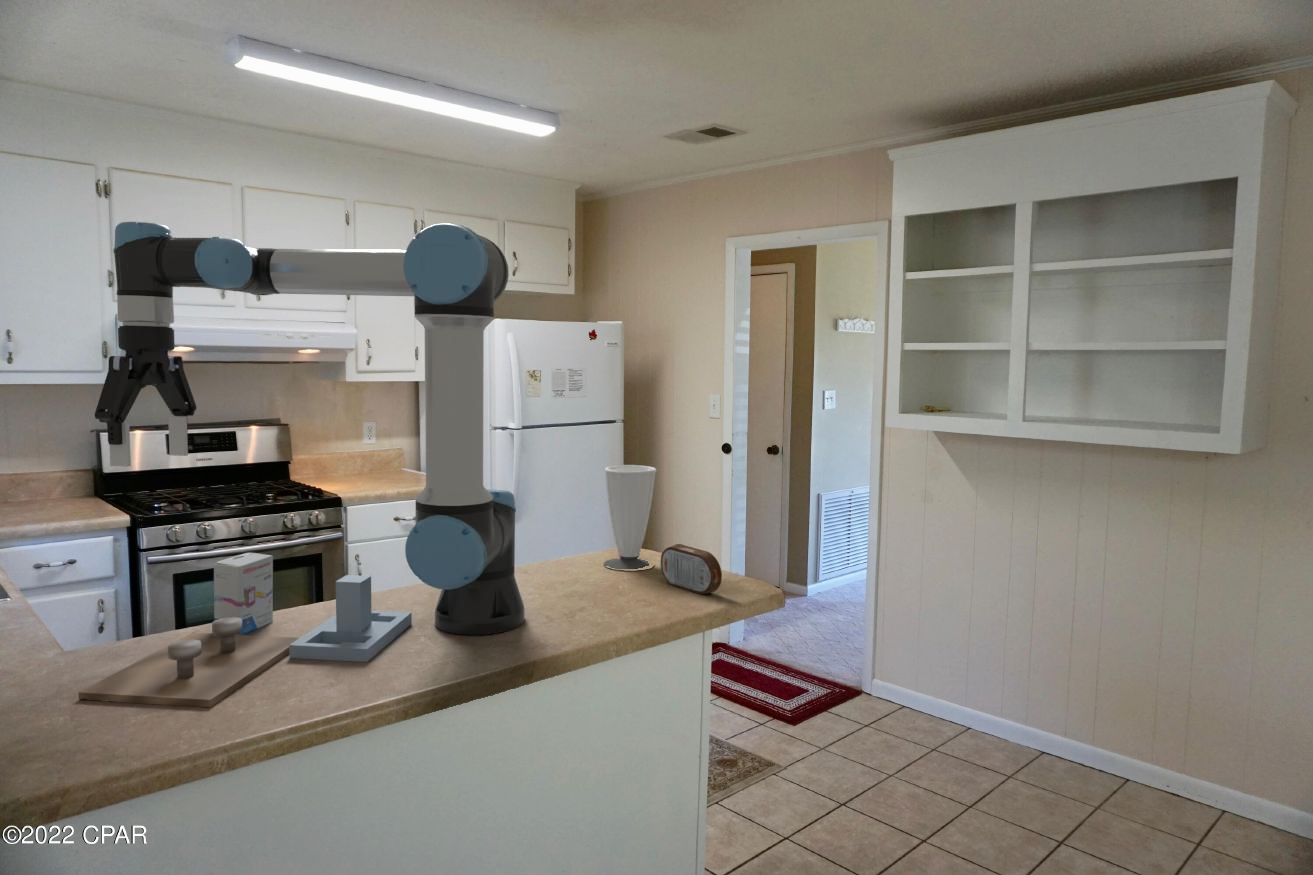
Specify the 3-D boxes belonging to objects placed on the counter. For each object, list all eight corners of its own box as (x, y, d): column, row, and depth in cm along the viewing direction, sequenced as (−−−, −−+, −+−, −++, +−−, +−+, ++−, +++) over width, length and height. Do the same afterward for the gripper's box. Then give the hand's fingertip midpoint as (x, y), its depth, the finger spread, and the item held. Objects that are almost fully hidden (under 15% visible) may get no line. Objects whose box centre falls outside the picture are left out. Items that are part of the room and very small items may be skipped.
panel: (411, 623, 144) (411, 566, 143) (367, 661, 126) (366, 596, 125) (343, 620, 144) (342, 563, 143) (289, 657, 127) (288, 592, 126)
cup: (661, 569, 183) (664, 471, 181) (610, 573, 179) (612, 472, 177) (645, 557, 194) (647, 464, 192) (597, 560, 190) (598, 465, 188)
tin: (722, 596, 164) (723, 553, 164) (711, 599, 162) (712, 556, 161) (668, 580, 175) (669, 540, 174) (657, 582, 173) (658, 542, 172)
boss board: (302, 643, 133) (302, 609, 132) (210, 707, 109) (209, 665, 108) (193, 638, 134) (192, 604, 133) (78, 699, 110) (76, 658, 110)
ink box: (240, 637, 135) (238, 565, 134) (213, 635, 136) (211, 562, 135) (275, 621, 143) (273, 553, 142) (249, 618, 144) (247, 550, 143)
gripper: (174, 327, 144) (179, 450, 146) (60, 321, 119) (67, 470, 121) (217, 328, 143) (220, 452, 145) (111, 322, 119) (117, 472, 121)
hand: (151, 460), depth 133 cm, fingers open, 13 cm apart
